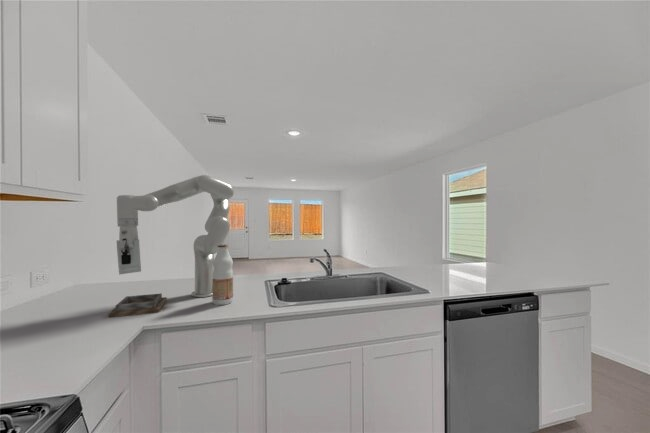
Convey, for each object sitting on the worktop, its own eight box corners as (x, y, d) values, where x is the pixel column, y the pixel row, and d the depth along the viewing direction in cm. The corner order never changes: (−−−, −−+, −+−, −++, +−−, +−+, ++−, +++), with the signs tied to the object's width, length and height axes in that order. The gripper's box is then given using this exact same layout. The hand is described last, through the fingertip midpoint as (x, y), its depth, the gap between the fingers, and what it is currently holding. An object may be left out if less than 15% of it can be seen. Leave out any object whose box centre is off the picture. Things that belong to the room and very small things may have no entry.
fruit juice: (216, 306, 127) (216, 246, 127) (209, 301, 134) (210, 244, 134) (236, 302, 133) (236, 244, 133) (228, 298, 140) (229, 243, 140)
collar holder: (166, 300, 136) (166, 292, 136) (159, 312, 119) (159, 302, 119) (123, 304, 130) (123, 295, 130) (108, 317, 113) (108, 307, 113)
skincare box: (140, 270, 128) (139, 238, 128) (141, 272, 123) (140, 239, 123) (117, 272, 123) (116, 239, 123) (117, 275, 118) (116, 240, 118)
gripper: (131, 223, 116) (133, 265, 116) (143, 222, 132) (144, 258, 133) (110, 223, 113) (111, 266, 114) (124, 222, 130) (125, 260, 130)
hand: (129, 262), depth 123 cm, fingers closed on skincare box, 7 cm apart
